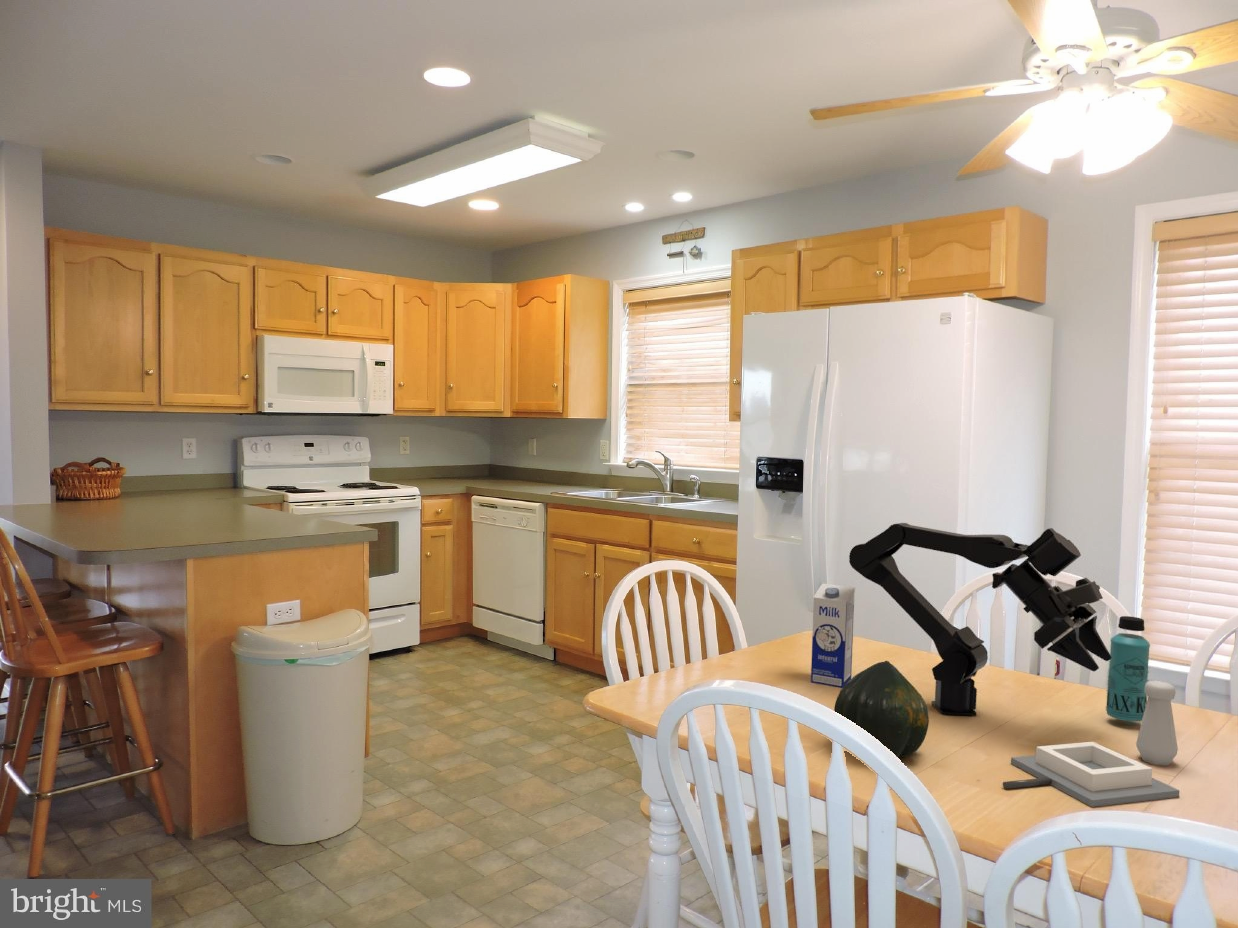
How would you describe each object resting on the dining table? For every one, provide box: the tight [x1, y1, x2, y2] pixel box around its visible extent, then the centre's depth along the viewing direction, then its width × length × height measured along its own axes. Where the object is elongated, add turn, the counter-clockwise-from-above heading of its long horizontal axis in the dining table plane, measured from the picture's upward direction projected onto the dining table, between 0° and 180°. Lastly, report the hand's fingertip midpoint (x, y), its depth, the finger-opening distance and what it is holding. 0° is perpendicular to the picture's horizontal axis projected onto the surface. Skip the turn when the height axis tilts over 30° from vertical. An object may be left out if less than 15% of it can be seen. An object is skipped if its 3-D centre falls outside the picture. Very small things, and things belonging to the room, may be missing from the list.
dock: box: [1002, 741, 1180, 808], centre depth 129 cm, size 24×16×4 cm, turn 106°
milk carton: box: [810, 583, 856, 689], centre depth 178 cm, size 7×7×20 cm
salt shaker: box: [1135, 680, 1179, 767], centre depth 139 cm, size 6×6×13 cm
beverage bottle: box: [1105, 615, 1151, 723], centre depth 156 cm, size 6×7×20 cm
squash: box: [833, 660, 930, 758], centre depth 140 cm, size 14×15×15 cm
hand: (1103, 664), depth 145 cm, fingers open, 9 cm apart
